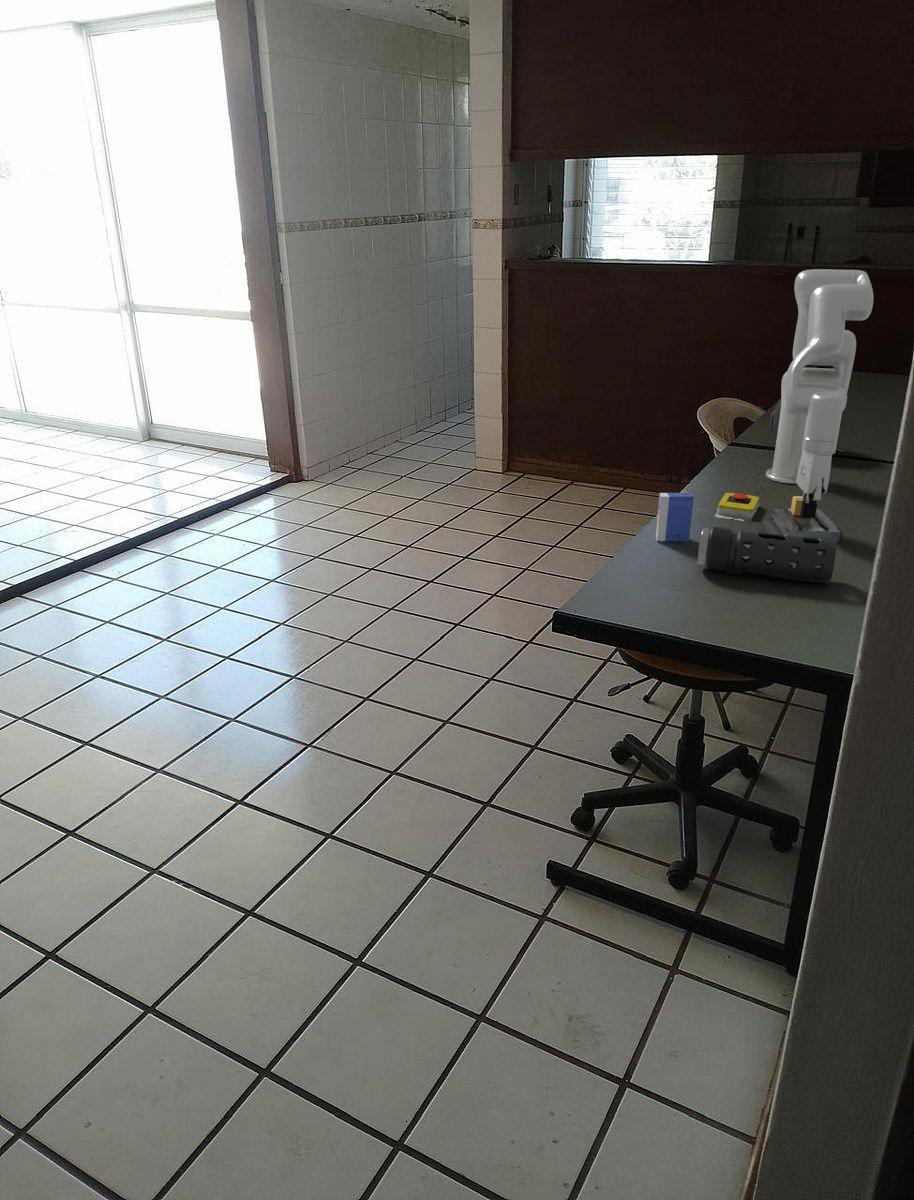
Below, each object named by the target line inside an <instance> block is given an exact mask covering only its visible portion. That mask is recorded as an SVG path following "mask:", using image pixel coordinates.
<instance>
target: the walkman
mask: <svg viewBox="0 0 914 1200" xmlns="http://www.w3.org/2000/svg"><path fill="white" fill-rule="evenodd" d="M693 506H694V495H693V494H692V492H688V491H682V492H659V498H658V503H657V510H658V511H657V519H656V532H655V541H656V540H657V541H661V542H660V543H663V542H662V541H666V542H665V543H670V542H669V541H675V542H676V541H677V542H676V543H679V542H678V541H680V543H681V541H682V542H683V543H684V542H685V543H687V542H688V543H689V542H690V535H691V525H692V514H693ZM657 541H656V542H657ZM667 541H668V542H667ZM675 542H674V543H675Z"/></svg>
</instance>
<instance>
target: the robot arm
mask: <svg viewBox="0 0 914 1200" xmlns="http://www.w3.org/2000/svg"><path fill="white" fill-rule="evenodd" d="M793 290H794V296H795V301H796V304H797V310H798V312H797V313H798V315H797V321H796V327H795V332H794V333H795V334H794V338H793V339H794V340H793V346H792V361H791V363H790V364H789V367H788V369H787V371H786V372H785V373H784V374H783V376H782V378H781V385H780V386H781V388H780V389H781V395H780V396H781V398H780V399H781V412H780V420H779V427H778V434H777V441H776V440H775V441H776V442H775V449H774V455H773V461H772V468H768V469H767V470H766V472H765V477H766V478H767V479H769V480H771V481H774V482H777V483H782V484H783V483H784V484H795V485H797V486H798V487H799V488H800V490H801V491H802V496H803V500H805V501H802V506H801V512H800V516H801V517H802V518H815V514H816V509H818V508H817V507H818V503H819V502H821V499H822V495H826V494H827V492H828V487H829V483H830V482H829V481H830V474H831V468H832V459H833V458H832V457H833V455H834V454H835V453H836V449H837V445H838V444H837V443H838V438H839V433H840V428H841V427H840V426H841V421H842V416H843V411H845V408H846V406H847V401H848V391H849V386H850V381H851V377H852V372H853V366H854V361H855V357H856V350H857V339H856V335H855V334H854V332H852V331H850V330H848V329H845V327H846V321H865V320H867V319H868V318H869V316H870V315H871V313H872V310H873V305H874V291H873V287H872V283H871V280H870V276H869V275H868V273H867V272H866V271H864V270H861V269H860V270H859V269H831V268H830V269H829V268H828V269H826V268H825V269H823V268H815V269H813V268H812V269H805V270H802V271H801V272H799V273H798V274H797V276H796V277H795V279H794V289H793ZM807 366H824V368H818V367H807ZM825 366H828V367H830V366H831V367H833V368H825Z"/></svg>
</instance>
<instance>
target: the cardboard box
mask: <svg viewBox="0 0 914 1200" xmlns="http://www.w3.org/2000/svg"><path fill="white" fill-rule="evenodd" d="M802 501H805V500H803V495H802V496H798V495H797V496H795V495H793V496H792V499H791V505H790V506H791V507H790V509H791V512H792V514H793V515H800V512H801V506H802Z"/></svg>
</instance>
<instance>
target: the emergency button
mask: <svg viewBox="0 0 914 1200" xmlns="http://www.w3.org/2000/svg"><path fill="white" fill-rule="evenodd" d="M759 505H760V497H759V496H756V495H751V494H750V495H749V494H748V495H747V494H744V493H734V492H725V494H723V496H722V498H721V499H720V501H719V503H718V505H717V509H716V510H717V511H716V513H715V515H714V517H715V518H717V519H723V518H724V519H723V520H730V519H733V518H737V519H734V520H733V521H737V520H739V521H738V522H744V520H743V518H752V517H753V516H754V517H755V515H756V513H757V511H758V510H757V508H758V507H759V508H760V506H759ZM759 508H758V509H759ZM756 510H757V511H756ZM755 512H756V513H755ZM754 514H755V515H754ZM730 516H731V517H730ZM754 517H753V518H754ZM739 518H740V519H739Z"/></svg>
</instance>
